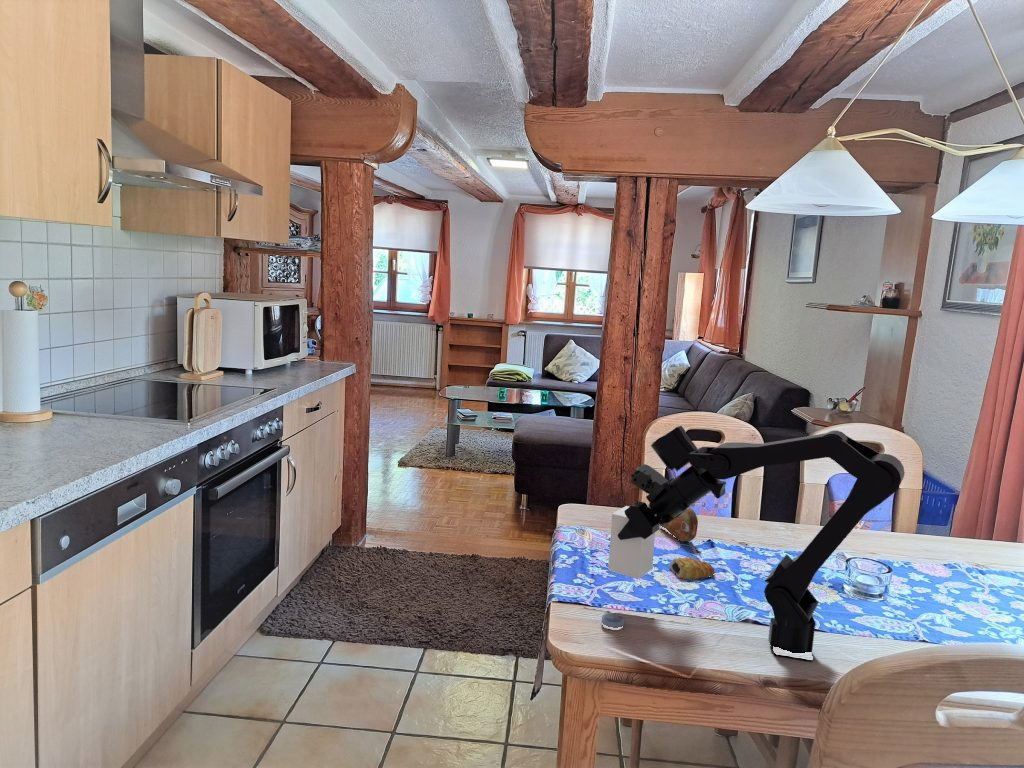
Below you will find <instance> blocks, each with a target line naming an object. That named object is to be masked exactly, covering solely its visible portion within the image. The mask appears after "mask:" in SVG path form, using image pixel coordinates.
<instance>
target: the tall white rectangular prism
mask: <svg viewBox="0 0 1024 768" xmlns="http://www.w3.org/2000/svg"><path fill="white" fill-rule="evenodd" d="M629 507H630V506H629V505H625V506H624V507H622V508H620V509H618V510H616V511H614V512H613V513H611V522H610V523H611V527H610V538H609V539H610V540H609V554H608V555H609V556H608V568H607V571H610V572H613V573H616V574H620V575H624V576H627V577H629V578H630V577H631V578H634V579H636V580H637V579H638V580H640V579H641V578H642V577H644V576H645V575H647V574H648V573H649V572H650V571H651V570H652V569H653V566H654V565H653V564H654V552H655V551H654V550H655V543H656V542H655V540H656V532H655V533H653V534H652V535H651V536H649V537H648V538H646V539H643V538H642V537H638V538H631V539H624V540H620V539H619V538H618V536H617V535H618V534H619V532H620V531H621V530H622V529H623V527H624V526H625V525H626V523H627V522H628V521H629V519H628V518H627V516H626V515H625V510H626V509H628V508H629ZM655 516H657V514H656V515H655Z"/></svg>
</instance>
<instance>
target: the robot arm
mask: <svg viewBox="0 0 1024 768" xmlns="http://www.w3.org/2000/svg"><path fill="white" fill-rule="evenodd" d="M650 447H651V448H652V449H653V451H654V452H655V453H656V455H657V456H658V458H659V459H660V460H661V462H662V463H663V464H664V465H665V467H666V468H667V469H668V471H674V470H675V471H676V472H678V471H681V470H682V469H683V468H685V467H686V466H687V465H689V464H690V466H689V467H688V468H686V469H685V470H683V472H681V473H680V474H678V475H677V476H675V477H672V478H671V479H670V480H668V479H667V478H666V477H664V475H663V474H661V473H660V472H659V471H657V470H656V469H655V468H653V467H651V466H650V465H648V464H646V463H644V464H641V465H640V466H638V467H636V469H635V470H634V472H633V473H631V474H630V477H631V478H630V480H629V482H630V483H631V484H632V485H633V486H634V487H637V489H639V490H642V491H643V492H644V493H646V494H648V495H646V496H645V498H646V500H647V501H648V502H649V504H648V505H647V503H646V502H643V501H640V500H638V501H637V502H636V503H634V504H632V505H630V506H629V508H628V509H626V510H625V515H626V516H627V518H628V519H629V521H628V522H627V523H626V525H625V526H624V527H623V529H622V530H621V531H620V532H619V534H618V535H617V536H618V538H619V539H620V540H624V539H631V538H638V537H642V538H643V539H646V538H648V537H649V536H651V535H652V534H653V533H655V534H656V532H657V531H659V530H660V527H661V526H660V525H661V524H665V523H669V522H670V521H672V520H673V519H674V517H675V518H677V517H678V516H680V515H681V514H683V513H684V512H685V511H687V508H688V507H689V508H691V506H693V505H694V504H695V503H697V502H698V501H699V500H700V499H701V500H702V499H703V498H704V497H705V496H706V495H708V494H709V493H712V494H713V496H714V497H715V498H716V499H720V498H722V497H724V495H725V494H726V485H727V482H726V481H725V480H728V479H732V478H734V477H737V476H741V475H743V474H746V473H747V472H748V473H749V472H751V471H753V470H756V469H759V468H762V467H769V466H771V467H772V466H775V465H783V464H791V463H797V462H804V461H805V462H806V461H811V460H812V461H813V460H818V459H825V458H828V459H830V460H832V461H833V462H835V463H837V465H839V466H840V467H841V468H842V469H843V470H845V472H847V473H848V474H849V475H850V476H852V477H854V478H855V479H856V480H855V482H854V484H853V486H852V488H851V490H850V492H849V493H848V496H847V498H846V499H845V500H844V502H842V503H841V505H840V506H839V507H838V509H836V511H835V512H834V513H833V514H832V516H830V518H829V519H828V520H827V522H825V524H824V525H823V527H822V528H821V529H820V530H819V532H817V534H816V535H815V536H814V538H812V540H811V541H810V542H809V543H808V545H807V546H806V547H805V549H804V550H802V552H801V553H800V554H799V555H796V557H795V558H793V559H792V557H790V555H788V554H787V553H786V554H785V556H784V557H783V558H782V559H781V560H780V562H779V563H778V564H777V566H776V567H774V568H773V570H771V572H770V573H769V575H768V576H767V577H766V578H765V580H764V582H765V583H767V584H766V585H765V588H764V590H763V591H764V592H763V593H764V597H765V600H766V601H767V604H768V605H769V606H770V607H771V608H772V612H773V617H772V618H770V620H769V628H768V629H769V631H768V639H769V640H768V643H770V644H769V646H770V645H771V646H774V647H779V648H781V649H783V650H787V651H790V652H792V653H805V652H812V653H813V646H814V639H815V631H816V630H815V629H816V621H815V618H814V615H813V614H814V612H815V610H816V609H817V607H818V606H819V600H817V598H816V597H815V596H814V594H813V593H812V592H811V591H810V590H809V587H810V585H811V583H812V581H813V579H814V577H815V576H816V573H817V572H818V571H819V570H820V568H822V566H823V565H824V564H825V562H826V561H827V560H828V559H829V558H830V557H831V555H832V554H833V553H834V552H835V551H836V549H838V547H839V546H840V545H841V543H842V542H844V540H845V539H846V537H848V535H849V534H850V533H851V532H852V531H853V530H854V529H855V527H856V526H857V525H858V524H859V523H860V522H861V520H862V519H863V518H864V517H865V515H867V513H869V512H871V511H872V510H873V509H875V508H876V507H878V506H879V505H881V504H883V502H884V501H886V500H887V499H888V498H889V497H891V496H892V495H894V493H896V492H897V491H898V489H899V488H900V486H901V484H902V482H903V480H904V478H905V468H904V465H903V463H902V462H901V461H900V459H899V458H898V457H896V456H894V455H892V454H889V453H880V452H878V451H877V450H875V449H873V448H872V447H870V446H868V445H865V444H863V443H861V442H859V441H857V440H855V439H853V438H851V437H849V436H848V435H846V434H845V433H844V432H842V431H840V430H830V431H827V432H826V433H819V434H813V435H808V436H807V435H806V436H801V437H794V438H788V439H781V440H776V441H769V442H764V443H763V442H762V443H753V442H743V441H742V442H740V441H739V442H736V441H735V442H731V441H730V442H729V441H728V442H724V443H721V444H719V445H718V446H701V447H699V448H698V447H697V445H696V444H695V443H694V442H693V441H692V439H691V438H690V436H689V435H688V434H687V432H686V430H685V428H684V427H683V426H682V425H678V426H676V427H675V428H674V429H672V430H671V431H669V432H668V433H666V434H664V435H662V436H660V437H658V438H657V439H656V440H655V441H654V442H652V443H651V444H650ZM656 514H657V516H655V515H656ZM771 646H770V647H771Z"/></svg>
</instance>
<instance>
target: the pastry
mask: <svg viewBox="0 0 1024 768" xmlns="http://www.w3.org/2000/svg"><path fill="white" fill-rule="evenodd" d="M668 569H670V570H671V572H673V573H674V574H675V573H676V574H675V576H676V577H677V578H679V579H682V578H683V580H690V579H693V580H700V579H699V578H701V579H705V578H704V577H709V576H712V575H713V574H714V575H715V568H714V567H713V566H712V564H711V563H709V562H708V561H702V560H701V559H697V558H692V557H689V556H687V557H678V558H673V559H672V561H671V562H670V564H669V567H668ZM714 575H713V576H714ZM713 576H712V577H713Z"/></svg>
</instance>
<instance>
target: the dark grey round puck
mask: <svg viewBox="0 0 1024 768" xmlns="http://www.w3.org/2000/svg"><path fill="white" fill-rule="evenodd" d="M601 623H603V624H604V625H606V626H608V627H613V628H618V627H622V626H623V625H625V618H624V616H623V615H622V614H616V613H609V612H605V613H604V614H602V615H601Z"/></svg>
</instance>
